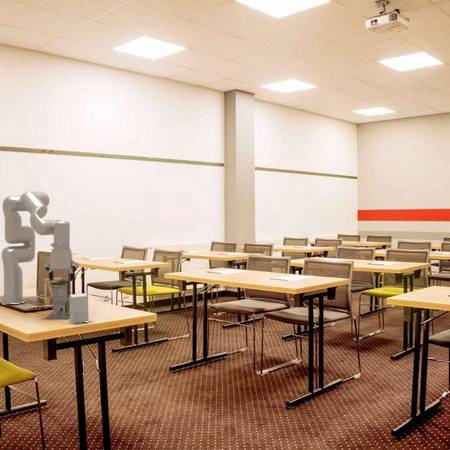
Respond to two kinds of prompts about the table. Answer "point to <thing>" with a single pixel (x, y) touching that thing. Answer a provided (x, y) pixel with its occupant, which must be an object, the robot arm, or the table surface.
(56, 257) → the robot arm
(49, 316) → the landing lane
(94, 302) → the table surface
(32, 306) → the table surface
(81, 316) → the supplement box
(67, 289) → the coffee box
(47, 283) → the candy box
